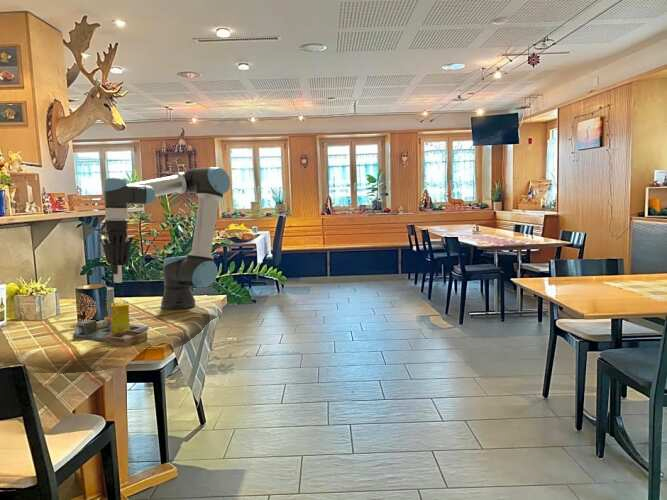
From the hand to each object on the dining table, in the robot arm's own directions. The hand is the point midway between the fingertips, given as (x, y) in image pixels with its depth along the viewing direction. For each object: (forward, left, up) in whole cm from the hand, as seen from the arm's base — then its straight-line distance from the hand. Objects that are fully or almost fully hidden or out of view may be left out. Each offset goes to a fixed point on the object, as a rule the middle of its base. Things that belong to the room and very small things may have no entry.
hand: (118, 282), depth 188 cm
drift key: (+8, -5, -17) cm, 19 cm away
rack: (+11, +15, -18) cm, 26 cm away
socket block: (+5, +1, -18) cm, 19 cm away
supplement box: (+3, +4, -19) cm, 19 cm away
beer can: (-11, -22, -19) cm, 31 cm away
